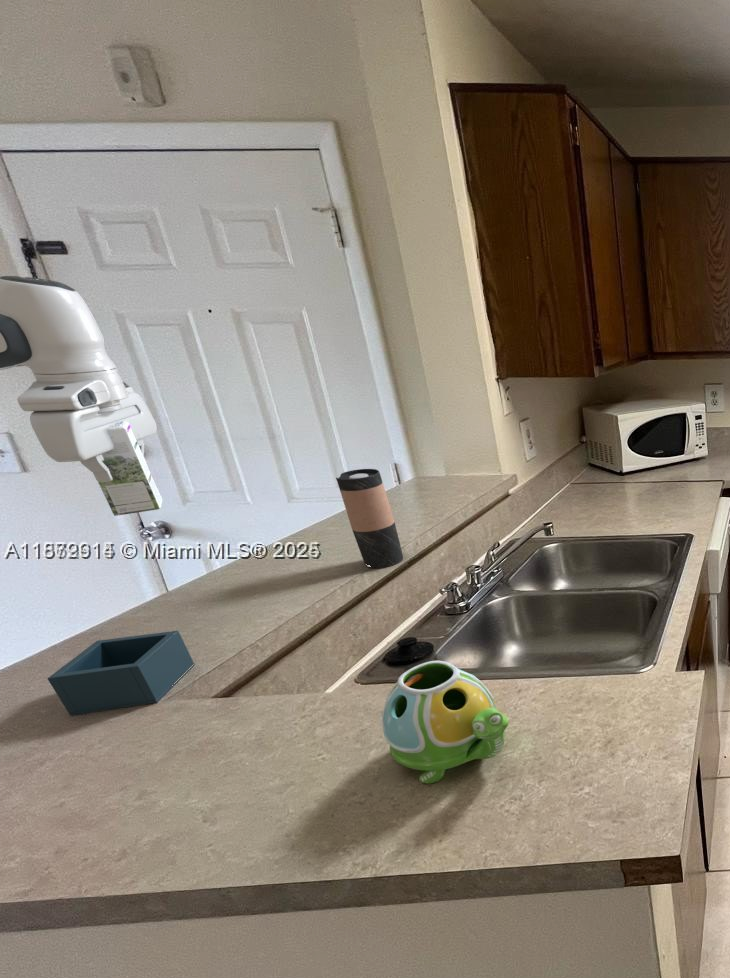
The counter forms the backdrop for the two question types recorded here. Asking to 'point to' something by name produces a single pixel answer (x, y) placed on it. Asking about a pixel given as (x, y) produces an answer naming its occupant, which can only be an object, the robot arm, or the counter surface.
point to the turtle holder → (441, 720)
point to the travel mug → (370, 517)
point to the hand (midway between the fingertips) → (123, 473)
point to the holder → (122, 672)
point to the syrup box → (128, 475)
